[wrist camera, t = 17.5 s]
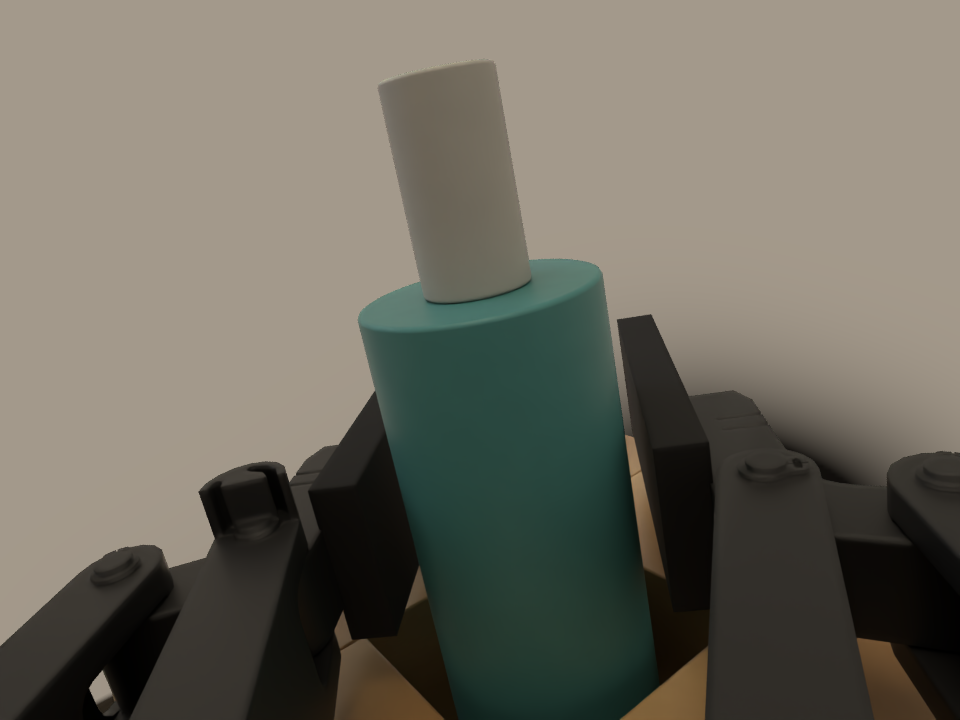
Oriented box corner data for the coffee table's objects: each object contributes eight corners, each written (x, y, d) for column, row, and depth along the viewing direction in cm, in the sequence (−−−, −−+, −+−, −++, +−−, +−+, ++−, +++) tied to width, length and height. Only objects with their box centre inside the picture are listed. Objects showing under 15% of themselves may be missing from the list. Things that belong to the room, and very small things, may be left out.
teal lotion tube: (473, 925, 13) (247, 100, 8) (514, 753, 16) (365, 98, 12) (684, 955, 12) (547, 28, 7) (680, 764, 15) (584, 49, 11)
